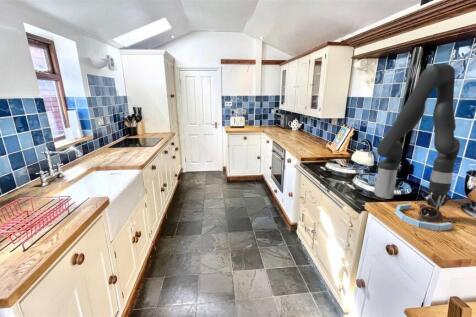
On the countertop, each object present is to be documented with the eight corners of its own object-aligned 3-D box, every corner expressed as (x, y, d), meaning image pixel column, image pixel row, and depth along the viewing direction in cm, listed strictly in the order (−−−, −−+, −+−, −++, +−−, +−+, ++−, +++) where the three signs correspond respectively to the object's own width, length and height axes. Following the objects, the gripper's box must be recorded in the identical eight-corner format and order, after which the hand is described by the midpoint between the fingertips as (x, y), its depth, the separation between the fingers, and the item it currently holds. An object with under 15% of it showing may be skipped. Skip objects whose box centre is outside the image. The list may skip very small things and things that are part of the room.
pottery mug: (449, 226, 101) (448, 214, 98) (427, 233, 103) (424, 222, 100) (430, 208, 112) (427, 197, 108) (410, 215, 114) (407, 204, 111)
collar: (407, 208, 119) (408, 203, 118) (451, 229, 98) (452, 223, 98) (384, 211, 116) (385, 206, 115) (424, 233, 96) (425, 227, 95)
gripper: (443, 176, 109) (437, 209, 113) (421, 178, 107) (415, 212, 111) (461, 181, 102) (453, 216, 106) (437, 184, 100) (430, 219, 104)
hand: (434, 213), depth 109 cm, fingers closed
